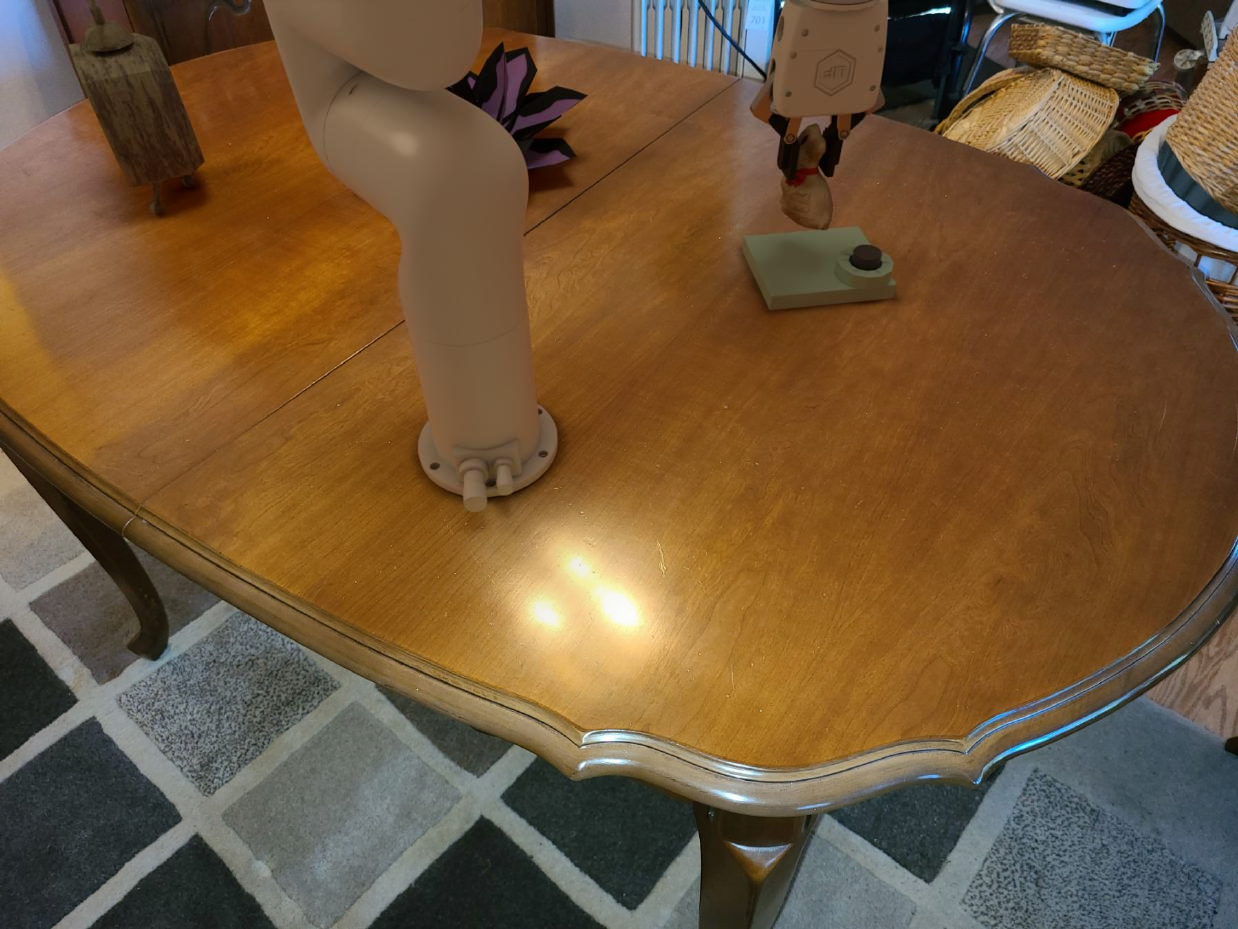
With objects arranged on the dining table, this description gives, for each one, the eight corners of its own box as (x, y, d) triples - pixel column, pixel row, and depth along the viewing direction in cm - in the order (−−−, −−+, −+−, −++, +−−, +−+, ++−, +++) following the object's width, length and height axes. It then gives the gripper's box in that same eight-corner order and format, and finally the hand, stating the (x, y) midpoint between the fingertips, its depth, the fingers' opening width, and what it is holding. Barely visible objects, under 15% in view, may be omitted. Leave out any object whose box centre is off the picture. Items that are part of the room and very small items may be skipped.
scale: (894, 301, 92) (902, 274, 89) (770, 313, 90) (775, 286, 88) (855, 239, 100) (861, 213, 98) (741, 249, 99) (744, 223, 96)
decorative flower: (620, 197, 108) (616, 82, 96) (373, 255, 102) (336, 142, 90) (549, 81, 127) (538, -26, 115) (338, 125, 121) (304, 18, 109)
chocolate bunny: (825, 193, 94) (841, 104, 86) (833, 231, 88) (851, 139, 81) (775, 192, 94) (787, 103, 87) (780, 230, 88) (793, 138, 81)
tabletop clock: (129, 175, 111) (33, -36, 93) (200, 158, 114) (120, -48, 96) (147, 225, 103) (44, 5, 85) (223, 206, 106) (140, -11, 88)
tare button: (883, 270, 90) (886, 258, 89) (856, 273, 90) (859, 260, 89) (873, 255, 92) (876, 243, 91) (847, 257, 92) (849, 245, 91)
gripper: (759, -1, 71) (737, 197, 84) (944, -13, 73) (894, 184, 86) (737, -30, 76) (720, 161, 89) (911, -40, 78) (868, 149, 91)
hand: (806, 171), depth 88 cm, fingers closed on chocolate bunny, 3 cm apart
